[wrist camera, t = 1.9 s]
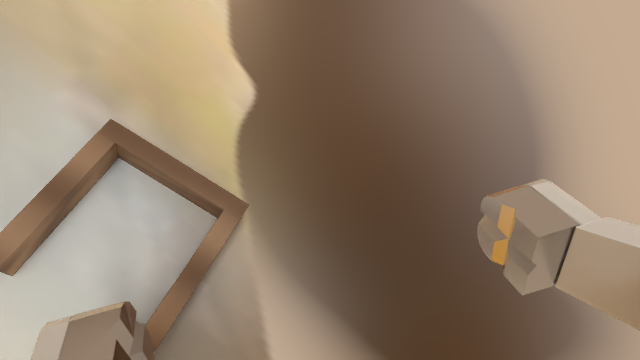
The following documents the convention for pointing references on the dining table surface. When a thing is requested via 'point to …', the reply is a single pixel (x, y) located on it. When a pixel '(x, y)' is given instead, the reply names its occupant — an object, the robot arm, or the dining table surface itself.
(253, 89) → the dining table surface
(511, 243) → the robot arm
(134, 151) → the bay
